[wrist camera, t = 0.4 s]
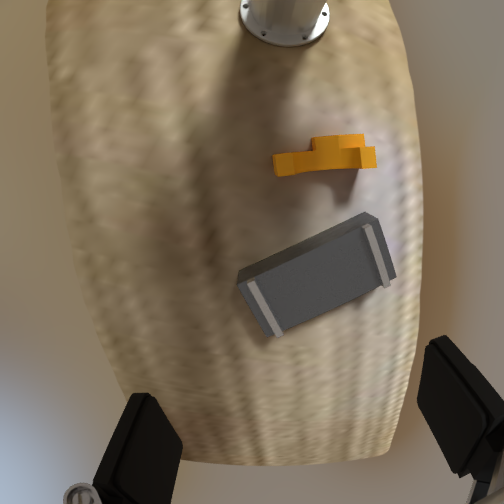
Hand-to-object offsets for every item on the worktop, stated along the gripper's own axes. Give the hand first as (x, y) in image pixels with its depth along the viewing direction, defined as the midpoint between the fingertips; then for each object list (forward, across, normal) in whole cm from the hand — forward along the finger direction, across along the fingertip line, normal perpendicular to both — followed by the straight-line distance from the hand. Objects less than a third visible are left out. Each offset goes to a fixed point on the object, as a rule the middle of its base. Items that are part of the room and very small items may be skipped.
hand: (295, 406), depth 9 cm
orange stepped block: (+34, -8, -7) cm, 35 cm away
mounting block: (+33, -5, +9) cm, 35 cm away
